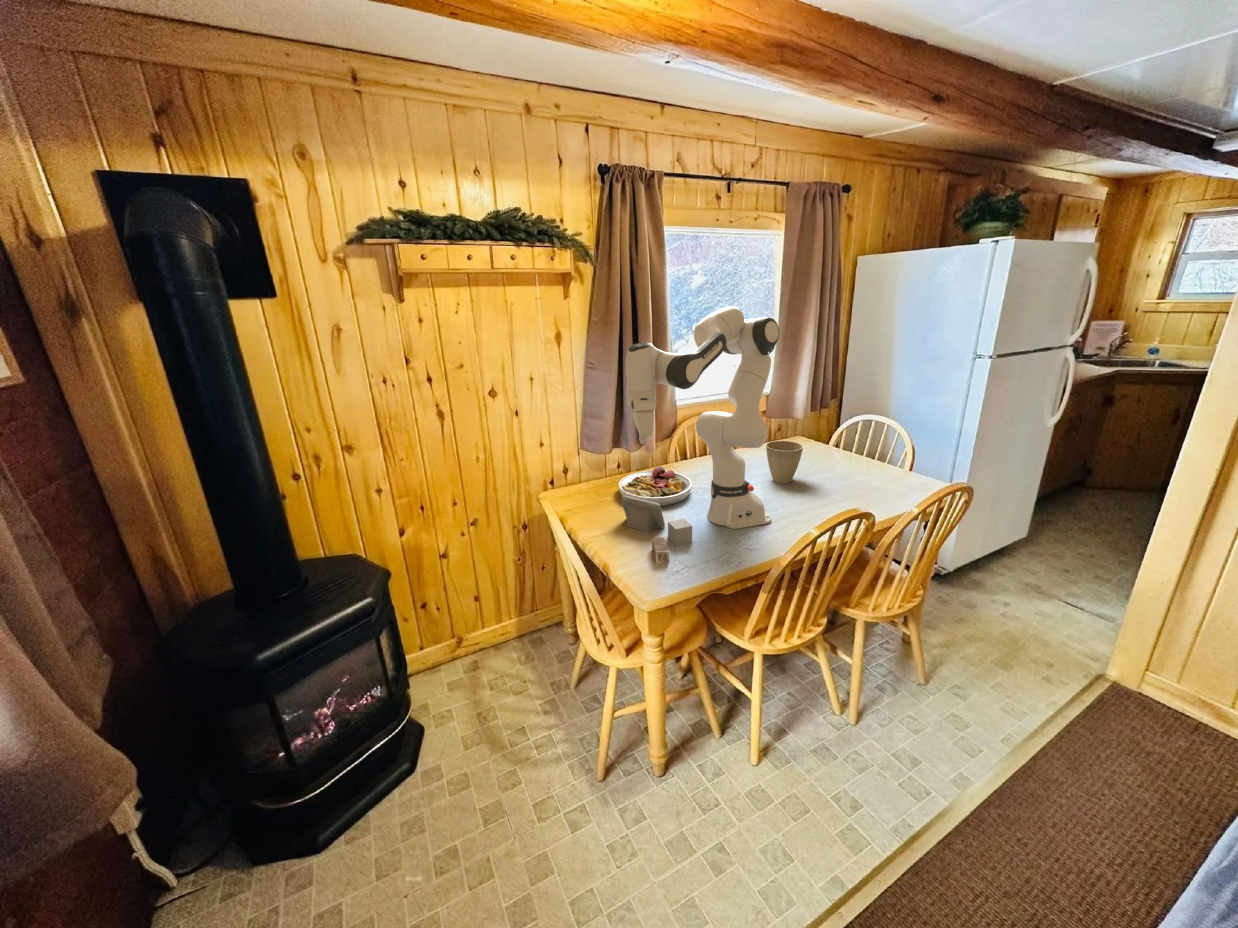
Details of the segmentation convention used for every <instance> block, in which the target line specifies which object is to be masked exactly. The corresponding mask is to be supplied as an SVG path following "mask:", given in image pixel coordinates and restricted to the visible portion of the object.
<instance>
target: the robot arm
mask: <svg viewBox="0 0 1238 928" xmlns="http://www.w3.org/2000/svg"><path fill="white" fill-rule="evenodd" d="M744 316H745V315H744V314H743V312H742V311H741V310H740V309H739V308H738V307H736V306H733V305H731V306H725V307H723V308H720V309H718V310H716V311H714V312H712V313H710V314H709V315H707V316H706V317H704V318H703V319H701V320H700V321H699V322H698V323H697V324H696V325H695V328H694V331H693V339H694V342H695V345H696V346H697V348H696V349H695V350H694V351H693V352H690V353H679V352H678V353H675V352H668V351H667V352H666V351H663V350H661V349H658V348H657V347H655V346H654V345H653V343H651V342H645V341H644V342H638V343H634V344H632V345H630V346H629V347H628V349H627V352H626V357H625V375H626V380H627V385H626V405H627V406H628V407H630V408H631V411H632V419H633V422H634V424H635V427H636V429H637V432H638V440H639V444H641V445H646V443H647V437H650V438H651V437H652V436H653V432H654V418H655V415H654V414H655V412H654V411H656V409H657V386H656V385H657V384H658V385H659V384H660V385H665V386H670V387H674V388H676V389H677V388H678V389H680V390H687V389H690V388H692V387H693V386H694V385H696V383H697V382H698V380H699V379H700V377H701V376H702V374H703V373H704V371H705V370H707V368H709V366H710V365H711V364H712V363H713V362H715V361H716V360H717V359H718V358H719V357H720V356H721V354H723V352H724V353H725V354H728V355H737V354H738V355H740V354H741V360H740V363H739V365H738V367H737V369H736V371H735V374H734V377H733V379H732V382H731V384H730V386H729V389H728V392H727V397H728V399H729V401H730V402H731V404H733V405H734V406H735V407H736V410H735V411H734V412H727V411H721V410H720V411H719V410H710V411H709V410H708V411H704V412H702V413H701V414H700V415H699V416H698V418H697V420H696V423H695V431H696V433H697V436H698V437H699V438H700V439H701V440H702V441H703V442H704V444H705V446H707V449H708V451H709V453H710V457H711V460H712V461H711V462H712V479H711V483H710V495H711V498H710V505H709V508H708V512H707V514H706V517H707V519H708V520H709V521H710V522H711V523H713V524H716V525H720V526H724V527H727V528H728V529H732V530H737V529H743V528H748V527H754V526H755V527H756V526H760V525H767V524H771V522H772V517H771V514H770V513H769V512H768V511H767V510H766V509H765V505H764V502H763V501H762V499H761V497H759V496H758V495H756V494H755V493H753V491H754V490H755V487H754V486H753V485H752V484H750V482H748V481H747V480H746V479H745V477H746V462H745V459H744V458H743V456H741V455H740V454H739V453H738V452H737V451H736V449H735V448H734V447H737V448H741V449H759V448H761V447H762V446H763V445H764V444H766V441H767V439H768V435H769V428H768V424H767V423H766V421H765V420H764V418H763V417H762V416H761V413H760V403H761V398H762V396H763V392H764V390H765V388H766V385H767V382H768V379H769V375H770V370H771V366H772V358H771V356H770V354H771V353H772V352H773V351H774V350H775V347H776V345H777V343H778V341H779V338H780V327H779V324H778V322H777V321H776V320H775V319H774V318H772V317H768V316H760V317H758V318H749V319H745V317H744Z"/></svg>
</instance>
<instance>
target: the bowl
mask: <svg viewBox="0 0 1238 928" xmlns="http://www.w3.org/2000/svg"><path fill="white" fill-rule="evenodd" d="M618 490H619V493H620V495H621V497H622V496H629V497H634V498H638V499H642V500H646V501H651V502H655V503H658V504H660V507H665V506H670V505H675V504H677V503H680V502H681V501H683V500H685V499H686V498H687V497H688V496H689V494H690V493H691V491H692V481H691V479H690V478H689V477H687V476H685V475H683V474H681V473H676V472H674V471H673V470H672V469H670V470H667V471H666V470H665V468H664V467H662V466H656V467H655V468H654V469H653V470H644V471H639V472H634V473H631V474H629V475H626V476H624V477H621V479H620V480H619V482H618Z"/></svg>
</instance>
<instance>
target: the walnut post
mask: <svg viewBox="0 0 1238 928" xmlns="http://www.w3.org/2000/svg"><path fill="white" fill-rule="evenodd" d="M651 541H652V542H651V546H652V547H651V548H652V553H653V557H654V560H655V561H654V562H655V564H667V563H670V550H669V546H668V543H667V540H666V538H665V537H663V536H662V537H652V538H651Z"/></svg>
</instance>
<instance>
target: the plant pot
mask: <svg viewBox="0 0 1238 928" xmlns="http://www.w3.org/2000/svg"><path fill="white" fill-rule="evenodd" d="M765 448H766V457H767V465H768V468H769V471H770V475H771V478H772V481H773V482H774V483H776V484H777V483H778V484H789V483H790V484H791V482H792V480H793V478H794V476H795V474H796V471H797V469H798V467H799V465H800V461H801V458H802V453H803V450H804V445H803V444H802V443H799V442H796V441H793V440H792V441H791V440H773V441H769V442H767V443H765Z"/></svg>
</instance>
